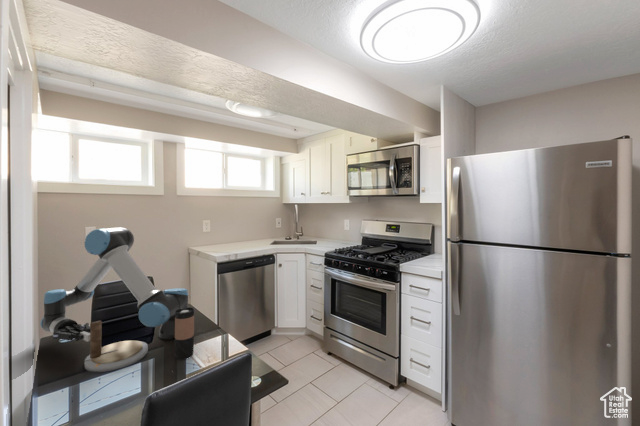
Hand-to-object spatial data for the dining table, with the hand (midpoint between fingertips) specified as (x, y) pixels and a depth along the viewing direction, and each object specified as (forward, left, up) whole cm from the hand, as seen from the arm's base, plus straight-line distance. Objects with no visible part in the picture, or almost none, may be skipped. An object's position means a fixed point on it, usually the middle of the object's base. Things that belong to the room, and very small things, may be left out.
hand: (89, 338), depth 116 cm
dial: (-10, -1, -7) cm, 13 cm away
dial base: (-11, -1, -9) cm, 14 cm away
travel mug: (-39, +2, -10) cm, 40 cm away
